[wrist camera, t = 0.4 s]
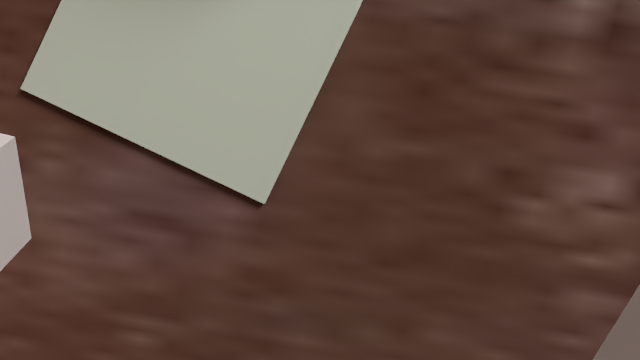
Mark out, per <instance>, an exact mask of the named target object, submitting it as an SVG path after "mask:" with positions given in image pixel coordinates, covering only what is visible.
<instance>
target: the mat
mask: <svg viewBox="0 0 640 360" xmlns="http://www.w3.org/2000/svg"><path fill="white" fill-rule="evenodd" d="M362 1H363V0H61V2H60V4H59V7H58V9H57V11H56V13H55V15H54V17H53V19H52V22H51V24H50V26H49V28H48V30H47V32H46V35H45V37H44V39H43V41H42V43H41V45H40V47H39V50H38V52H37V54H36V56H35V58H34V60H33V63H32V65H31V67H30V69H29V71H28V73H27V75H26V78H25V80H24V82H23V84H22V86H21V88H20V89H22V90H24V91H26V92H28V93H30V94H32V95H35V96H37V97H39V98H41V99H43V100H45V101H47V102H49V103H51V104H54V105H56V106H58V107H60V108H62V109H64V110H66V111H68V112H71V113H73V114H75V115H77V116H79V117H81V118H83V119H85V120H87V121H90V122H92V123H94V124H96V125H98V126H100V127H102V128H104V129H106V130H109V131H111V132H113V133H115V134H117V135H119V136H121V137H123V138H125V139H128V140H130V141H132V142H134V143H136V144H138V145H140V146H142V147H144V148H147V149H149V150H151V151H153V152H155V153H157V154H159V155H161V156H163V157H166V158H168V159H170V160H172V161H174V162H176V163H178V164H180V165H183V166H185V167H187V168H189V169H191V170H193V171H195V172H197V173H199V174H202V175H204V176H206V177H208V178H210V179H212V180H214V181H216V182H218V183H221V184H223V185H225V186H227V187H229V188H231V189H233V190H235V191H237V192H240V193H242V194H244V195H246V196H248V197H250V198H252V199H254V200H256V201H259V202H261V203H263V204H265V202H266V200H267V198H268V196H269V194H270V192H271V190H272V188H273V186H274V184H275V182H276V179H277V177H278V175H279V173H280V171H281V169H282V167H283V165H284V163H285V161H286V159H287V157H288V155H289V153H290V150H291V148H292V146H293V144H294V142H295V140H296V138H297V136H298V134H299V132H300V130H301V128H302V126H303V124H304V121H305V119H306V117H307V115H308V113H309V111H310V109H311V107H312V105H313V103H314V101H315V99H316V97H317V95H318V92H319V90H320V88H321V86H322V84H323V82H324V80H325V78H326V76H327V74H328V72H329V70H330V68H331V66H332V63H333V61H334V59H335V57H336V55H337V53H338V51H339V49H340V47H341V45H342V43H343V41H344V39H345V37H346V35H347V32H348V30H349V28H350V26H351V24H352V22H353V20H354V18H355V16H356V14H357V12H358V10H359V8H360V6H361V3H362Z"/></svg>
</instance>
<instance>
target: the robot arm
mask: <svg viewBox="0 0 640 360" xmlns="http://www.w3.org/2000/svg"><path fill="white" fill-rule="evenodd" d="M30 239H31V232H30V226H29V220H28V214H27V207H26V201H25V195H24V189H23V183H22V177H21V171H20V165H19V158H18V152H17V146H16V140H15V137H14V136H10V135H5V134H1V133H0V271H1V270H2V269H3V268H4V267H5V266H6V265H7V264H8V262H9V261H10V260H11V259H12V258H13V257H14V256H15V255H16V254H17V253H18V252H19V251H20V250H21V249H22V247H23V246H24V245H25V244H26V243H27V242H28V241H29V240H30ZM593 360H640V285H639V286H638V288H637V290H636V291H635V293H634V294H633V296H632V298H631V299H630V301H629V302H628V304H627V306H626V307H625V309H624V310H623V312H622V314H621V315H620V317H619V318H618V320H617V322H616V323H615V325H614V326H613V328H612V330H611V331H610V333H609V334H608V336H607V338H606V339H605V341H604V342H603V344H602V346H601V347H600V349H599V350H598V352H597V354H596V355H595V357H594V358H593Z"/></svg>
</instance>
